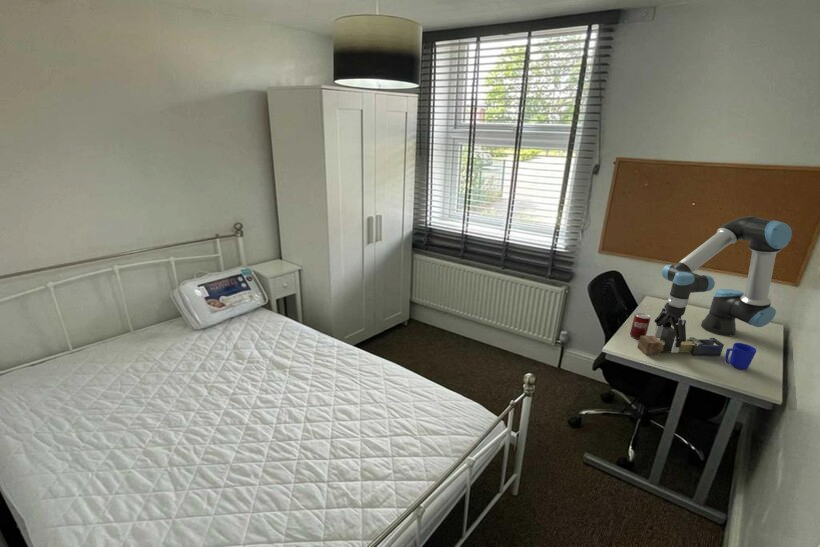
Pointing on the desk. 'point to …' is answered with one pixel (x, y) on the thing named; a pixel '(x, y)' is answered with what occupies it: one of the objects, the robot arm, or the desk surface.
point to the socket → (649, 345)
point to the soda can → (640, 325)
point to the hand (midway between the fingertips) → (665, 344)
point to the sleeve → (706, 347)
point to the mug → (740, 355)
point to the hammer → (668, 341)
